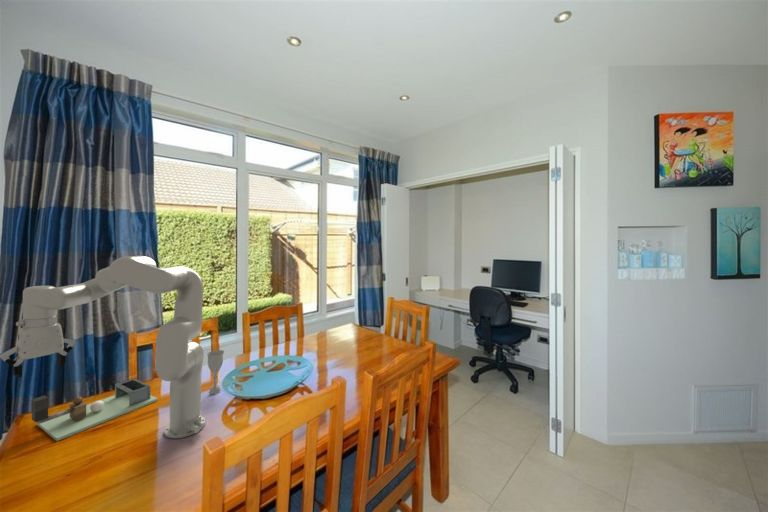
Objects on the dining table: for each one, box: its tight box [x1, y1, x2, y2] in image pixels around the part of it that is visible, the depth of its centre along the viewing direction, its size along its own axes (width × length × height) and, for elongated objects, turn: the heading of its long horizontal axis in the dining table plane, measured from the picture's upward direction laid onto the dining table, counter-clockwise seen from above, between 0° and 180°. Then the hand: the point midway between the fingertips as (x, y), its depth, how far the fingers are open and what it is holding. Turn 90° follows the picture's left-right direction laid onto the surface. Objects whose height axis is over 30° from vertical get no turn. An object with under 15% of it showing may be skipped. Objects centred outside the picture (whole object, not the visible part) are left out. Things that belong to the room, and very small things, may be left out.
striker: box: [31, 394, 87, 424], centre depth 106 cm, size 5×12×12 cm, turn 153°
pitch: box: [36, 394, 159, 442], centre depth 117 cm, size 18×30×1 cm, turn 153°
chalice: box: [206, 349, 225, 395], centre depth 135 cm, size 7×7×18 cm
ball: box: [90, 400, 104, 412], centre depth 115 cm, size 4×4×4 cm
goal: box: [114, 378, 151, 406], centre depth 126 cm, size 13×7×7 cm, turn 63°
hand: (40, 371), depth 102 cm, fingers open, 9 cm apart
